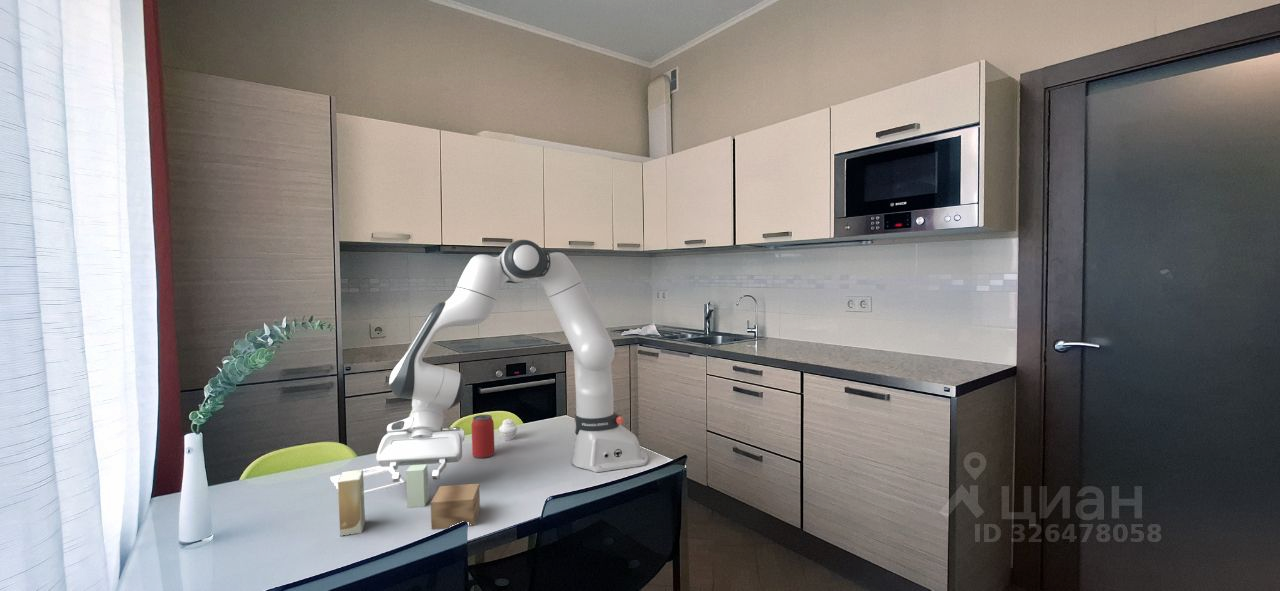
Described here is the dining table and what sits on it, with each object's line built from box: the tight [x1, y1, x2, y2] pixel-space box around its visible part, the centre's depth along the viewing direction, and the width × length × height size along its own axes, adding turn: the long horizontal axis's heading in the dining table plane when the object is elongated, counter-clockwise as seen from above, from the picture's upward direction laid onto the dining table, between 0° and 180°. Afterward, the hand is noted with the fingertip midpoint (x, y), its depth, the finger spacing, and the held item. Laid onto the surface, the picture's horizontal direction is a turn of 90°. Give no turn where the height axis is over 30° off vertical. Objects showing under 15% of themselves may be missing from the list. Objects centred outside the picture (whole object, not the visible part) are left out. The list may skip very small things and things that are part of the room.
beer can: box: [471, 414, 496, 459], centre depth 165 cm, size 7×7×12 cm
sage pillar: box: [405, 464, 430, 509], centre depth 130 cm, size 4×4×9 cm
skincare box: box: [337, 469, 366, 537], centre depth 118 cm, size 6×4×12 cm
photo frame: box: [329, 465, 406, 494], centre depth 146 cm, size 15×1×18 cm
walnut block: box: [430, 483, 481, 530], centre depth 122 cm, size 9×9×6 cm
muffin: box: [498, 418, 518, 441], centre depth 180 cm, size 6×6×7 cm
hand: (415, 479), depth 131 cm, fingers open, 8 cm apart
